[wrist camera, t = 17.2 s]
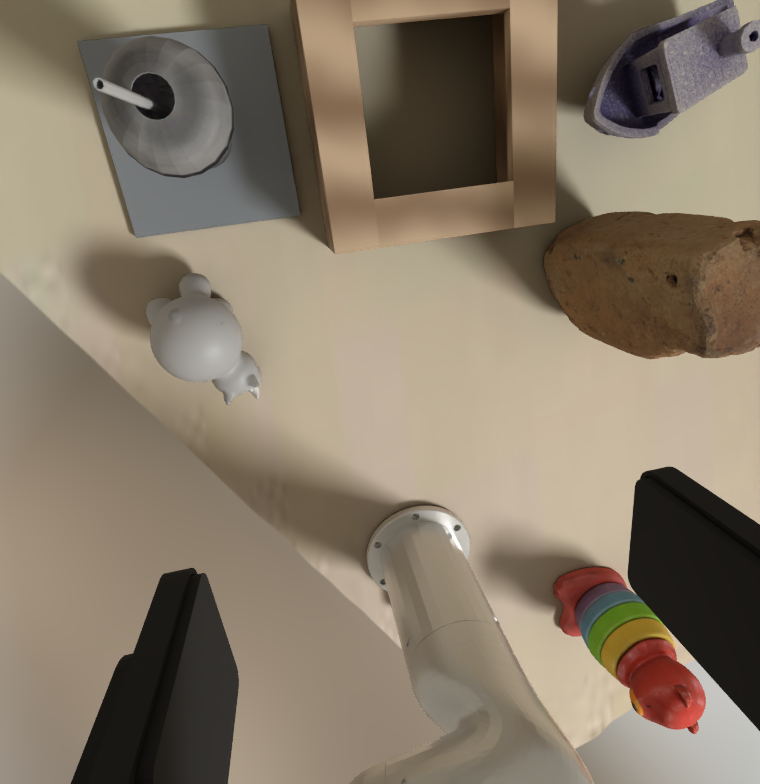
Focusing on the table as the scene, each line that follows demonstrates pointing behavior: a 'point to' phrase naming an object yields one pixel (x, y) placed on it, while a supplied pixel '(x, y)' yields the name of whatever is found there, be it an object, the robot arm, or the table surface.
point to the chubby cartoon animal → (201, 339)
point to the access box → (348, 133)
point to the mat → (250, 140)
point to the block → (660, 282)
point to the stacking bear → (630, 646)
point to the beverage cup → (167, 106)
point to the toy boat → (669, 69)
